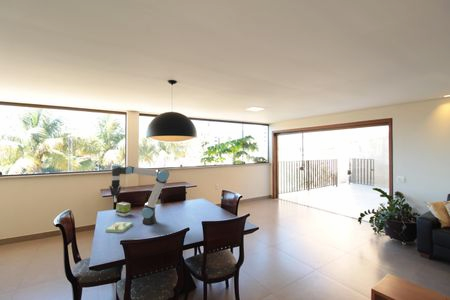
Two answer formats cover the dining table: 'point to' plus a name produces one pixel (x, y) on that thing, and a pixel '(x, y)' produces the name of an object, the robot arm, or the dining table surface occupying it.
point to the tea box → (123, 209)
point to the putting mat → (119, 227)
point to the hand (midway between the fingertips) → (115, 201)
